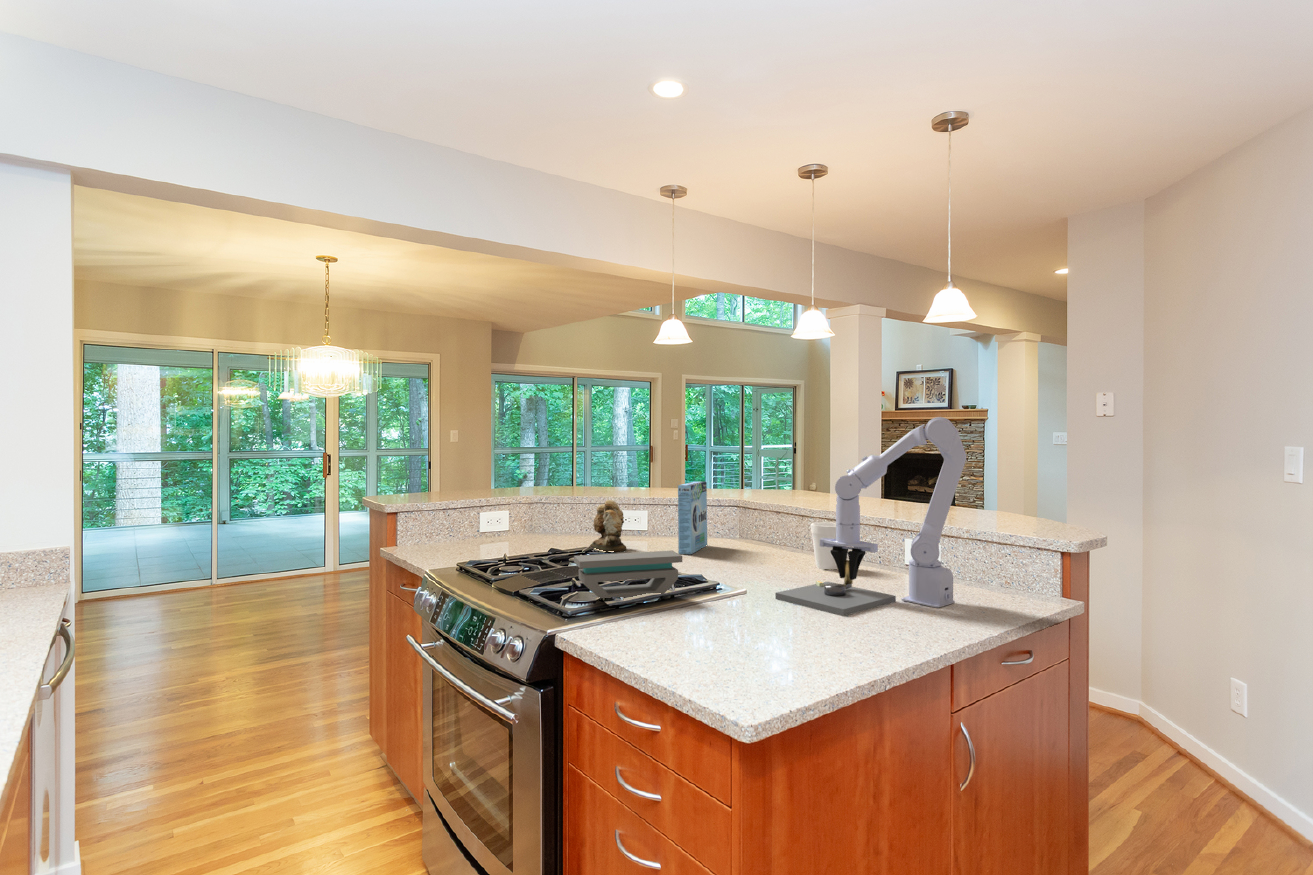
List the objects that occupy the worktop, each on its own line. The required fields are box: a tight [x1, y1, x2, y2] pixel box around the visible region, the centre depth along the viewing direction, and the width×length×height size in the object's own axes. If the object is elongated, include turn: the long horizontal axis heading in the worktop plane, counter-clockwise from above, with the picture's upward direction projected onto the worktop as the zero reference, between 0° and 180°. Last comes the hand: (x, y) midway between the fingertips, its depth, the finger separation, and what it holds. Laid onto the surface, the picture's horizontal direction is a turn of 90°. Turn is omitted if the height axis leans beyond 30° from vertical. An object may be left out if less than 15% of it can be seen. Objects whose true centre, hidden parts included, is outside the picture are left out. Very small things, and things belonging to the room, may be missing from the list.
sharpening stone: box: [573, 550, 683, 599], centre depth 168 cm, size 25×8×11 cm, turn 106°
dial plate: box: [774, 580, 897, 617], centre depth 168 cm, size 20×20×2 cm
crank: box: [824, 559, 854, 596], centre depth 170 cm, size 10×5×7 cm, turn 138°
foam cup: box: [810, 521, 838, 570], centre depth 206 cm, size 10×9×13 cm
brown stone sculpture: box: [589, 499, 627, 553], centre depth 241 cm, size 18×12×17 cm, turn 27°
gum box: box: [677, 481, 708, 555], centre depth 239 cm, size 20×5×23 cm, turn 160°
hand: (847, 578), depth 173 cm, fingers open, 2 cm apart
